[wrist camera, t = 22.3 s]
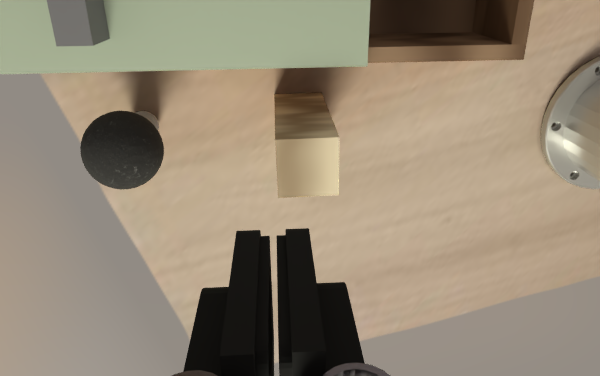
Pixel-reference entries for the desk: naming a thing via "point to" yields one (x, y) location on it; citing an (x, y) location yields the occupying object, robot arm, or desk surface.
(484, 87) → the desk surface
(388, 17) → the brown wooden box
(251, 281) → the robot arm
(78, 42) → the lid
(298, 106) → the block
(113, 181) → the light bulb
